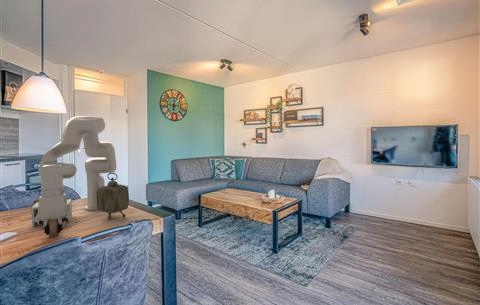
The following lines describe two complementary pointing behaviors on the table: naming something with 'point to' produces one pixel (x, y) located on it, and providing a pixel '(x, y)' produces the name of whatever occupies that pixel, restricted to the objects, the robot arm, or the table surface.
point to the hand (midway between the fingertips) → (53, 233)
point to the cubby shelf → (35, 210)
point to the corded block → (54, 226)
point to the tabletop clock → (112, 197)
